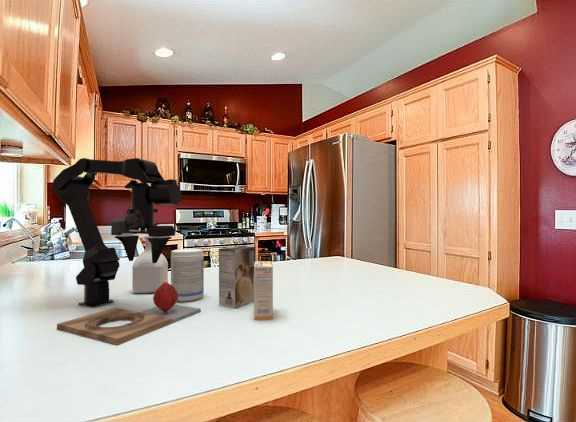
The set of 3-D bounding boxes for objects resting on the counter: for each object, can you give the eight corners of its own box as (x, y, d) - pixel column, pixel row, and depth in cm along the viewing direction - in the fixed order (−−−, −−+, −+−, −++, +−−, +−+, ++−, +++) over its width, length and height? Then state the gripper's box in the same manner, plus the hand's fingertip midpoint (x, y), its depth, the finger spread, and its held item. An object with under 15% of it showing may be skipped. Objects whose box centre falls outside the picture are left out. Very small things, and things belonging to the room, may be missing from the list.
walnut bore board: (56, 329, 71) (56, 323, 71) (114, 312, 84) (114, 307, 84) (117, 345, 63) (117, 338, 63) (171, 323, 75) (171, 318, 75)
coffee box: (239, 298, 98) (239, 245, 98) (256, 301, 95) (256, 246, 95) (217, 305, 90) (218, 248, 90) (235, 309, 87) (235, 249, 87)
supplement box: (253, 310, 86) (253, 261, 86) (271, 309, 86) (272, 260, 86) (253, 320, 77) (253, 265, 78) (273, 319, 78) (273, 265, 78)
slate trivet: (129, 318, 79) (129, 315, 79) (166, 306, 89) (167, 303, 89) (165, 325, 73) (165, 322, 73) (200, 311, 84) (200, 308, 84)
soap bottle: (140, 288, 112) (141, 222, 112) (169, 287, 113) (169, 222, 113) (130, 294, 102) (130, 223, 103) (161, 294, 103) (161, 223, 104)
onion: (182, 309, 83) (182, 278, 83) (167, 316, 78) (167, 283, 78) (164, 307, 85) (164, 277, 85) (148, 313, 80) (148, 281, 80)
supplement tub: (209, 298, 98) (209, 250, 98) (179, 304, 91) (179, 252, 91) (194, 292, 105) (194, 247, 105) (165, 298, 98) (165, 249, 98)
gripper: (92, 204, 85) (92, 263, 85) (142, 203, 77) (141, 269, 77) (129, 205, 95) (129, 258, 95) (176, 205, 87) (176, 262, 87)
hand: (142, 262), depth 88 cm, fingers open, 9 cm apart
